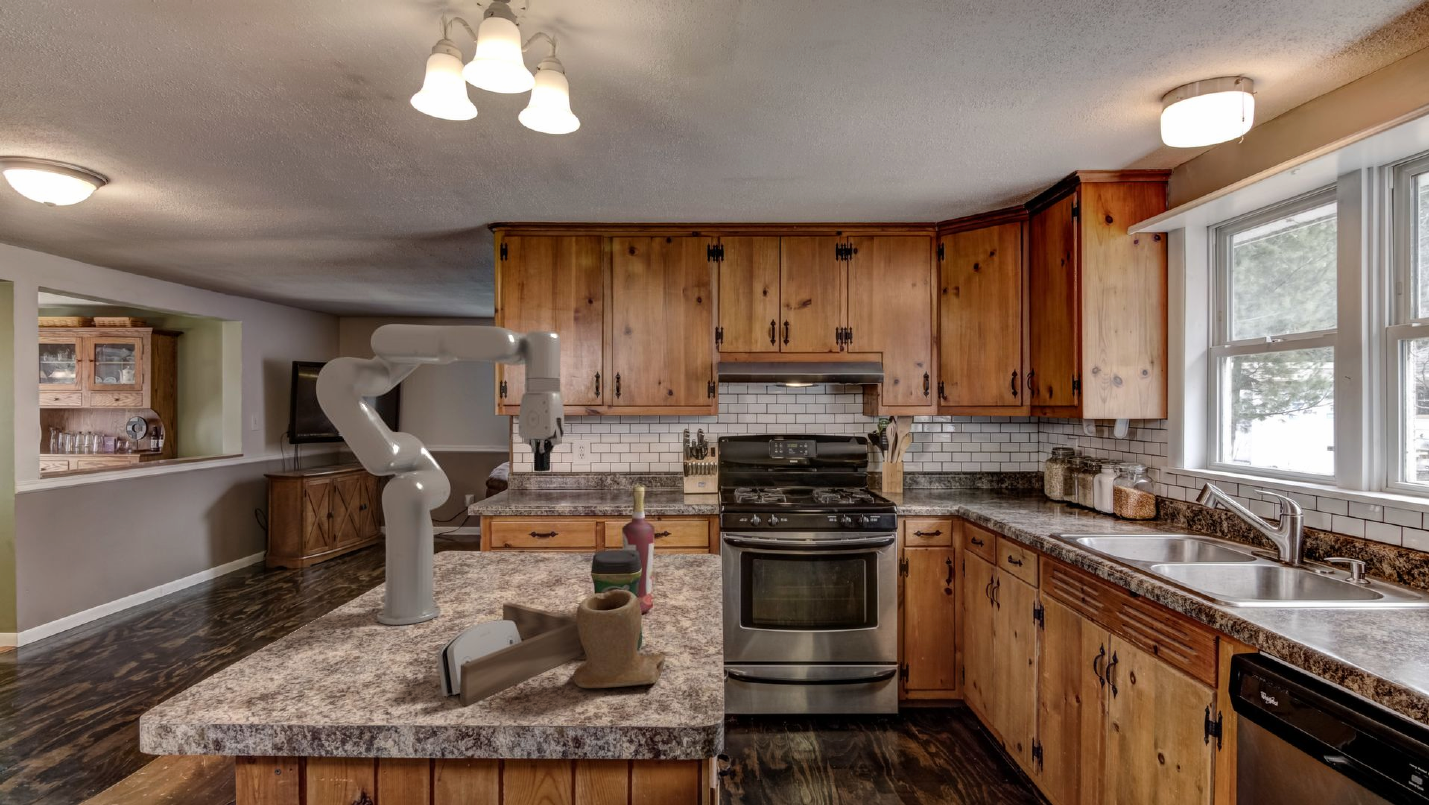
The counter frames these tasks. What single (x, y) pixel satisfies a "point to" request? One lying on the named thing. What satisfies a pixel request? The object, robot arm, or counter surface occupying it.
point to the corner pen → (522, 653)
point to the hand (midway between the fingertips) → (542, 470)
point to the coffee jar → (617, 573)
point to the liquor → (641, 547)
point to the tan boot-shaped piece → (613, 643)
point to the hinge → (473, 649)
